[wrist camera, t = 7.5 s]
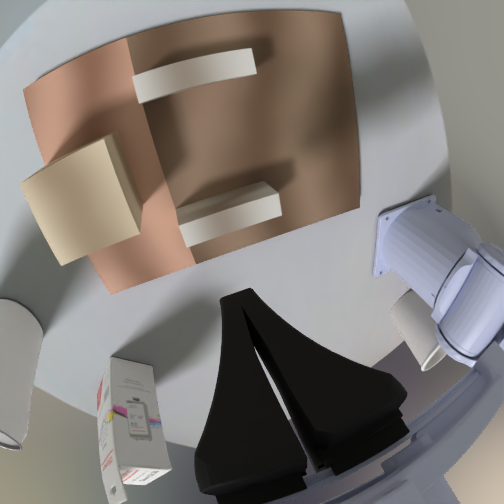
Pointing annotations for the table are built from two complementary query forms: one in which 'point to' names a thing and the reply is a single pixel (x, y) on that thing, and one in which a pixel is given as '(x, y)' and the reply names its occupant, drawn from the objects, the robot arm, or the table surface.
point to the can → (17, 370)
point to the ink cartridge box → (129, 428)
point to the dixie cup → (417, 329)
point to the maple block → (85, 199)
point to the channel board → (212, 132)
